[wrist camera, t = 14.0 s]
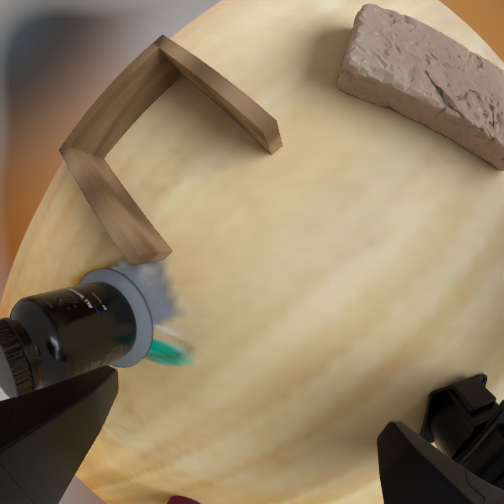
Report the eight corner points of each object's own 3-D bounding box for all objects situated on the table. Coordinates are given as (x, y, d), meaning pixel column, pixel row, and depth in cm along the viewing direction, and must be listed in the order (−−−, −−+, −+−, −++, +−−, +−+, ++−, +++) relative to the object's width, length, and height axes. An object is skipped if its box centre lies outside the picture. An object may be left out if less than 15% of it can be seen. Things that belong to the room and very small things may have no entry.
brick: (334, 94, 17) (341, 60, 13) (352, 27, 16) (359, -7, 12) (502, 179, 15) (535, 170, 10) (503, 105, 14) (528, 88, 9)
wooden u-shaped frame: (282, 145, 18) (276, 120, 14) (164, 259, 20) (130, 265, 16) (184, 62, 19) (162, 34, 15) (92, 160, 21) (59, 149, 17)
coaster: (163, 368, 21) (159, 371, 20) (90, 360, 23) (86, 362, 22) (142, 263, 21) (138, 264, 20) (71, 272, 22) (66, 273, 22)
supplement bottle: (126, 272, 20) (-3, 301, 8) (150, 353, 20) (47, 428, 9) (74, 286, 21) (-32, 312, 10) (95, 356, 22) (2, 407, 10)
